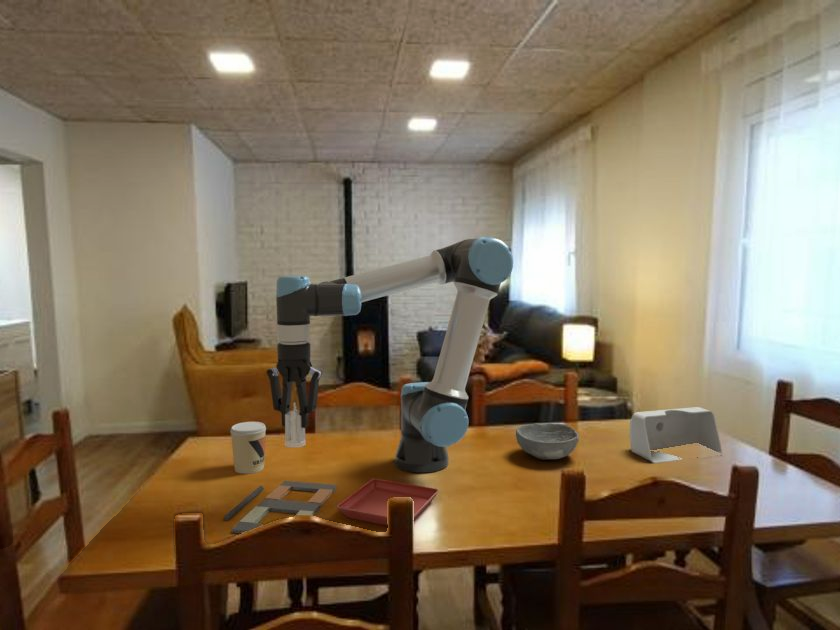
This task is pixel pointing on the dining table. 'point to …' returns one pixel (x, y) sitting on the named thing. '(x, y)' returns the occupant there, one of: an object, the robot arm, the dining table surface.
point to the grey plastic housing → (672, 431)
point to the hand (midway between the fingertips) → (295, 439)
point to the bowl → (547, 440)
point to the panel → (286, 503)
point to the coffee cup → (248, 446)
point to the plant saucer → (384, 499)
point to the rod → (243, 503)
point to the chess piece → (294, 431)
